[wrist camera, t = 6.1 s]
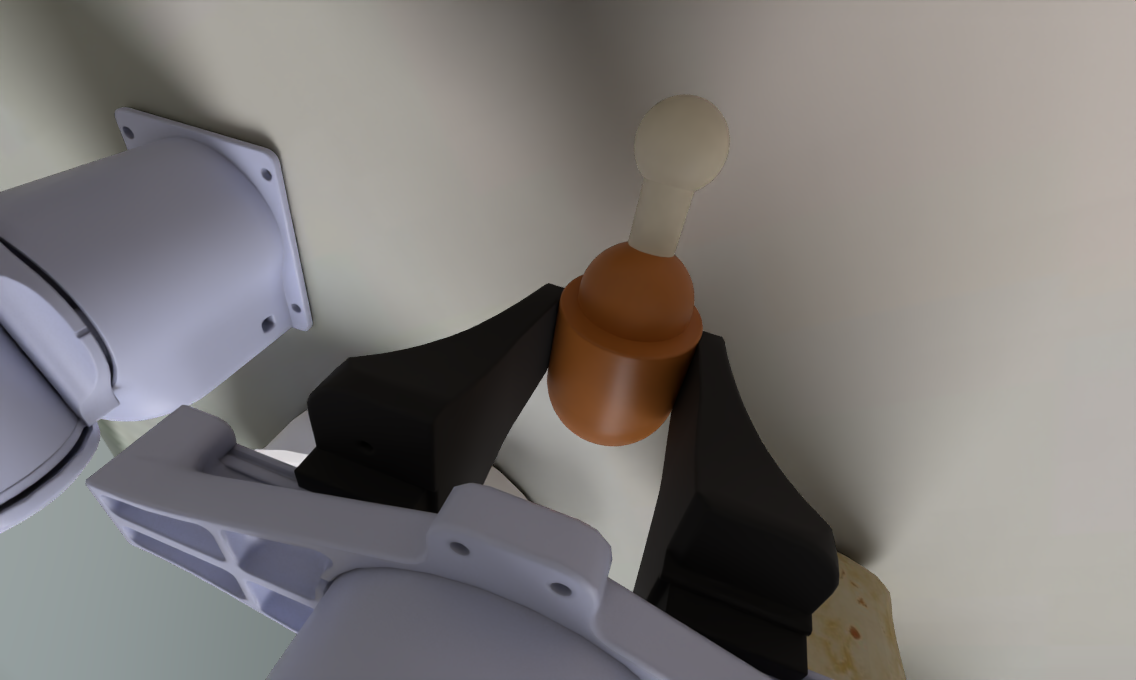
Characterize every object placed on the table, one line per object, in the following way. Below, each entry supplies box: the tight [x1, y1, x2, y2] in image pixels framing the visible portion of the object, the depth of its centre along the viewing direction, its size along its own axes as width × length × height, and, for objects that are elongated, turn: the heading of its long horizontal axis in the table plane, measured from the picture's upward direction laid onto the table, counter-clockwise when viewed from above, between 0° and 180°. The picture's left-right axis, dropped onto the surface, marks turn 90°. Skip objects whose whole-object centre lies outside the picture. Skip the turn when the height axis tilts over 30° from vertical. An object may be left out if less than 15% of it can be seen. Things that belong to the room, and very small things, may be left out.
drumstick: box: [547, 94, 730, 446], centre depth 14 cm, size 10×4×4 cm, turn 171°
